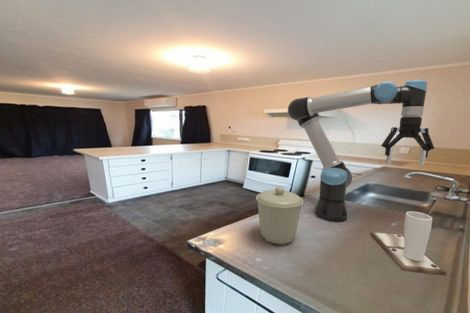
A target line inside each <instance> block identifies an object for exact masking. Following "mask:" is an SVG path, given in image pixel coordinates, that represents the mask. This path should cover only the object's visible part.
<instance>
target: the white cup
mask: <svg viewBox="0 0 470 313" xmlns="http://www.w3.org/2000/svg"><path fill="white" fill-rule="evenodd" d="M403 224H404V225H403V226H404V227H403V236H404V250H403V254H404V256H405V257H407V258H408V259H410V260H413V261H423V259H424V254H426V250H427V246H428V243H429V239H430V235H431V231H432V225H433V217H432V216H430V215H428V214H426V213H424V212H419V211H409V210H408V211H406V213H405V217H404V223H403Z"/></svg>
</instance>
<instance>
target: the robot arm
mask: <svg viewBox="0 0 470 313" xmlns="http://www.w3.org/2000/svg"><path fill="white" fill-rule="evenodd" d="M427 84H428V82H427V81H426V80H424V79H413V80H408V81H406V82H405V84H404V85H402V86H401V85H400V86H397V85H396V84H395V82H392V81H389V80H388V81H387V80H386V81H383V82H380V83H379V84H375V85H371V86H365V87H361V88H356V89H351V90H346V91H341V92H337V93H332V94H327V95H322V96H318V97H317V96H316V97H311V96H307V97H301V98H295V99H293V100H291V101H290V103H289V104H288V107H287V113H288V116H289V118H291V119H292V120H294V121H297V123H298V126H300V128H301V129H304V131H305V132H306V134H307V137H308V139H309V141H310V143H311V144H312V147H313V149H314V151H315V153H316V155H317V157H318V159H319V161H320V162H321V165H322V168H321V174H320V177H319V178H320V180H319V182H320V184H319V199H318V201H317V203H316V205H315V208H314V215H315V214H316V215H317V216H318V218H319V217H320V218H319V219H321V218H322V219H321V220H325V221H327V220H328V221H327V222H333V221H335V223H340V222H341V221H342V222H345V221H347V220H348V216H349V214H348V211H347V207H346V202H345V201H346V193H347V192H346V190H347V188H348V187H349V186H350V185H351V183H352V181H353V175H352V174H353V173H352V172H351V171H350V169H349V168H348V167H346V165H345V163H344V161H343V160H340V159H339V157H338V156H337V154H336V152H335V151H334V148H333V146H332V144H331V142H330V140H329V138H328V137H327V135H326V132H325V130H324V129H323V127H322V125H321V123H320V119H321V118H320V114H319V113H323V112H324V113H325V112H330V111H335V110H343V109H348V108H354V107H361V106H365V105H372V104H373V105H391V104H393V105H395V104H402V105H401V111H400V112H401V113H400V116H401V117H400V119H399V127H397V126H395V127H394V126H393V127H391V129H390V132H389V133H388V135H387V137H385V139H384V140H383V142H382V144H381V145H380V146H381V147H382V148H385V151H384V155H385V156H386V158H385V163H387V164H391V163H392V155H393V149H392V148H393V147H394V146H395V145H396V144H397V143H398V142H400V140H402V139H403V138H405V139H407V138H409V139H410V138H411V139H414V140H415V141H416V142H417V144H418V145H419V147H420V148H421V149H420V151H419V158H418V165H419V166H420V165H421V166H425V162H426V158H428V155H429V151H431V150H434V149H435V147H434V143H433V141H432V139H431V136H430V134H429V130H430V129H429V128H427V127H422V128H421V126H422V121H423V118H422V116H423V114H424V108H425V100H426V94H427V86H428V85H427ZM398 132H399V133H398ZM397 133H398V134H397ZM420 133H421V135H422V136H421V135H420ZM396 134H397V135H396ZM395 135H396V136H395ZM316 215H315V216H316ZM317 216H316V217H317Z"/></svg>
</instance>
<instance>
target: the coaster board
mask: <svg viewBox="0 0 470 313" xmlns="http://www.w3.org/2000/svg"><path fill="white" fill-rule="evenodd" d="M369 235H370V236H371V237H372V238H373V239H374V240H375V242H377V244H378V245H379V246H380V247H381V248H382V249H383V250H384V251H385V252H386V253H387V255H388V256H389V257H390V258H391V259H392V260H393V261H394V262H395V264H396V265H397V266H398V267H399V269H401V270H402V271H405V272H415V273H425V274H432V273H435V275H441V274H446V275H447V271H446V270H445V269H444V268H442V266H440V265H439V264H438V263H436V262H435V261H434V260H433V259H431V258H430V256H428V255H427V254H426V253H425V254H424V259H423V261H413V260H410V259H408V258H407V257H405V256H404V254H403V250H404V234H397V233H395V234H394V233H385V232H375V231H374V232H372V231H370V232H369Z"/></svg>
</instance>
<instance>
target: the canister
mask: <svg viewBox="0 0 470 313" xmlns="http://www.w3.org/2000/svg"><path fill="white" fill-rule="evenodd" d="M255 199H256V201H257V208H258V209H257V210H258V221H259V230H260V234H261V236H262V238H263V239H264V238H265V239H266V240H265V239H264V240H265V241H267V242H269V243H271V242H272V243H271V244H274V243H276V244H275V245H286V243H288V244H290V243H291V242H292V241H294V239H295V238H296V235H297V230H298V225H299V220H300V214H301V208H302V205H303V204H304V199H303V198H302V197H301V196H300V195H299V194H296V193H294V192H291V191H288V190H285V188H284V187H282V186H276V187H275V189H269V190H266V191H262V192H260V193H258V194H256V197H255ZM289 242H290V243H289Z"/></svg>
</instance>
